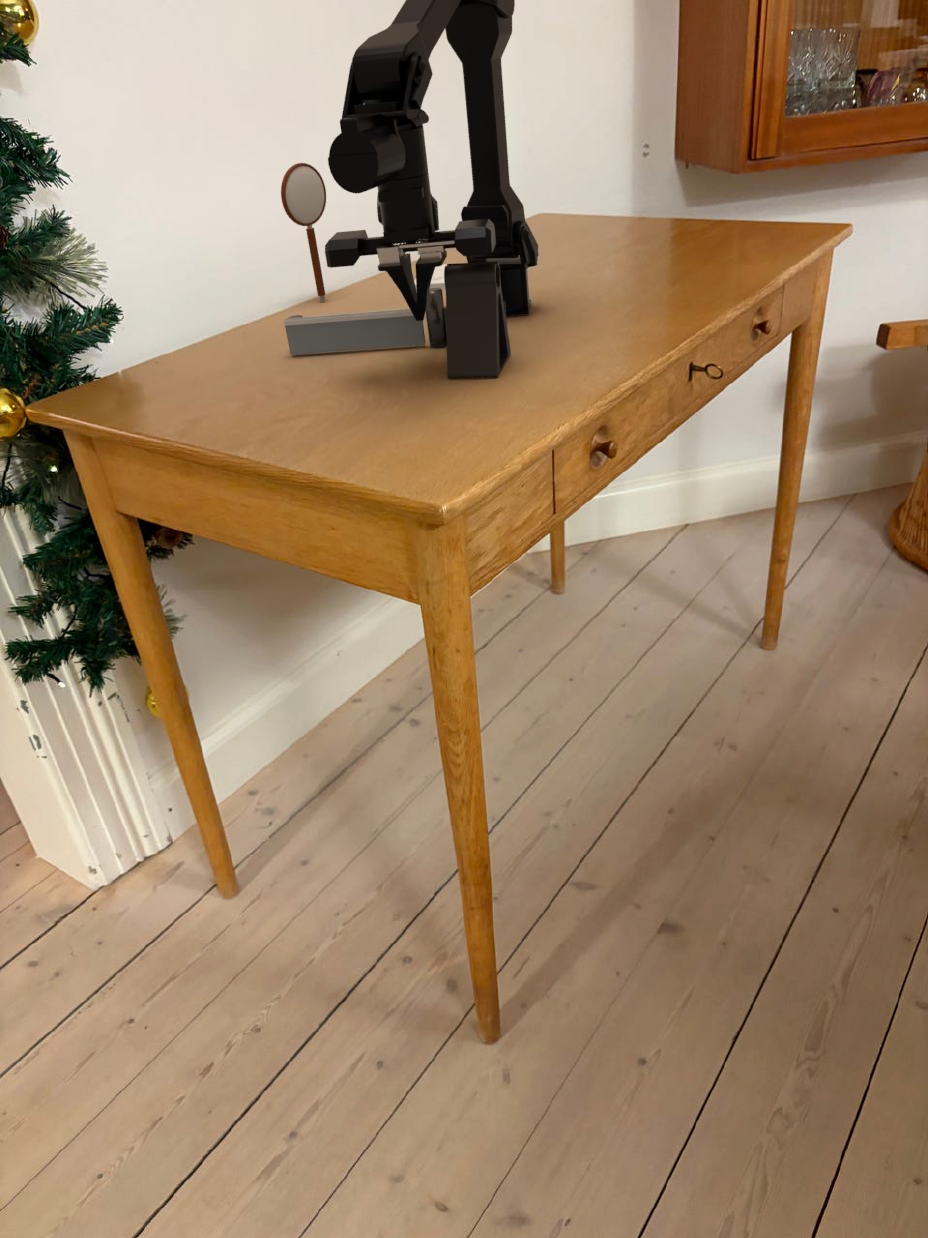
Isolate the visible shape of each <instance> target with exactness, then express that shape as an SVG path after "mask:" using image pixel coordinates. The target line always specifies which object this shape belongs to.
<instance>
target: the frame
mask: <svg viewBox="0 0 928 1238" xmlns="http://www.w3.org/2000/svg"><path fill="white" fill-rule="evenodd" d="M443 294H444V293H443V289H441V288H430V289H429V294H428V300H427V305H426V311H425V319H426V325H427V326H426V327H427V334H428V342H429V343H428V344H429V348H431V349H443V348H444V347H445V348H447V331H446V305H445V304H444V295H443ZM503 303H504V310H505V317H506V323H507V324H508V321H507V320H508V319H507V316H506V306H505V301H504V302H503ZM299 317H304V316H303V315H301V314H299V315H292V316H288V317H287V318H299Z"/></svg>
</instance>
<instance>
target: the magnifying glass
mask: <svg viewBox="0 0 928 1238" xmlns="http://www.w3.org/2000/svg"><path fill="white" fill-rule="evenodd" d="M280 197H281V203H282V206H283V207H282V208H283V210H284V212H285V214H286V215H287V217H289V219H290V220H291V221H292V223H294V224H296V225H299V226H302V227H306V229H305V231H306V236H307V241H308V248H309V253H310V259H311V264H312V269H313V277H314V280H315V281H314V282H315V287H316V291H317V292H316V293H317V296H318V297H319V300H320V301H321V302H322V301H324V302H325V300H326V298H325V297H326V290H325V284H324V279H323V272H322V267H321V262H320V255H319V251H318V250H319V249H318V245H317V244H318V243H317V239H316V231H315V228H314V227H313V225H314V224H316V223H317V222H319V220H320V219H321V218H322V215H323V214H324V212H325V209H326V204H327V189H326V186H325V181H324V178H323V177H322V175H321V174H320V172H319V171H318V170H317V169H316V168H315V167H314V166H312V165H311V164H309V163H305V162H298V163H294V164H293V165H292V166H290V167H289V168H288V169H287V170H286V172H285V174H284V175H283V178H282V182H281V187H280Z"/></svg>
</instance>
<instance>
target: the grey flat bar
mask: <svg viewBox="0 0 928 1238" xmlns="http://www.w3.org/2000/svg"><path fill="white" fill-rule="evenodd" d="M283 324H284V328H285V333H286V337H287V342H288V343H287V344H288V348H289V354H290V356H295V355H311V354H324V353H336V352H351V351H352V352H353V351H364V350H365V351H366V350H376V349H377V350H378V349H392V348H406V347H416V346H418V347H419V346H425V345H426V335H425V334H426V333H425V328H424V320H423V321H416V319H415V317H414V316H413V314H412V312H411V310H410V308H403V309H389V310H388V309H387V310H379V311H378V310H377V311H366V312H365V311H364V312H352V313H350V312H349V313H339V314H338V313H337V314H326V315H312V316H303V317H299V318H288V317H286V318H285V319H284V320H283Z"/></svg>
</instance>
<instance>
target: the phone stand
mask: <svg viewBox="0 0 928 1238" xmlns="http://www.w3.org/2000/svg"><path fill="white" fill-rule="evenodd" d="M446 264H447V266H445V269H444V282H445V289H444V290H445V306H446V331H447V346H446V377H447V379H448V380H453V379H454V380H457V379H458V380H459V379H461V380H462V379H466V380H467V379H498V378H499V376H500V374H501V372H502V371H503V369H504V367H505V366H506V364H507V362H508V360H509V359H510V357H511V353H512V351H511V344H510V338H509V337H510V336H509V331H508V322H507V323H506V318H507V316H506V317H505V310H504V303H503V296H502V290H501V279H500V266H499V263H498V262H479V263H468V262H462V263H461V262H460V263H446Z"/></svg>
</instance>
